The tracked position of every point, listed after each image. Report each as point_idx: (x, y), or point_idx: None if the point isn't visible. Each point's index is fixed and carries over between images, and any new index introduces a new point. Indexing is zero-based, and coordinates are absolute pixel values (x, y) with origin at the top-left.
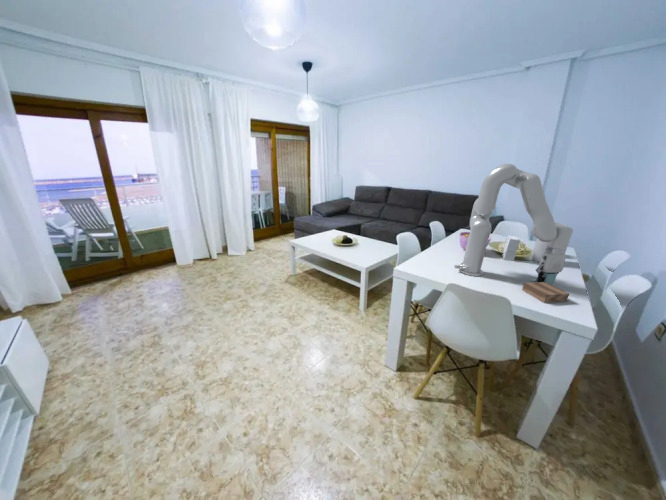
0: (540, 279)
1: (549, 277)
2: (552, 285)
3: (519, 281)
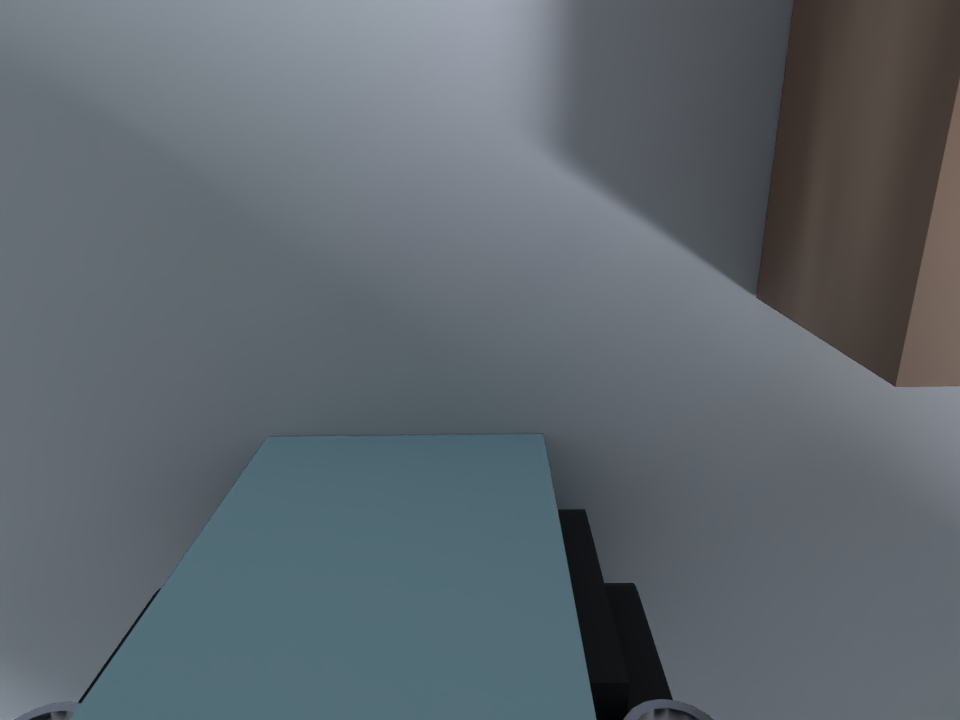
0: (652, 649)
1: (466, 644)
2: (278, 444)
3: (936, 708)
